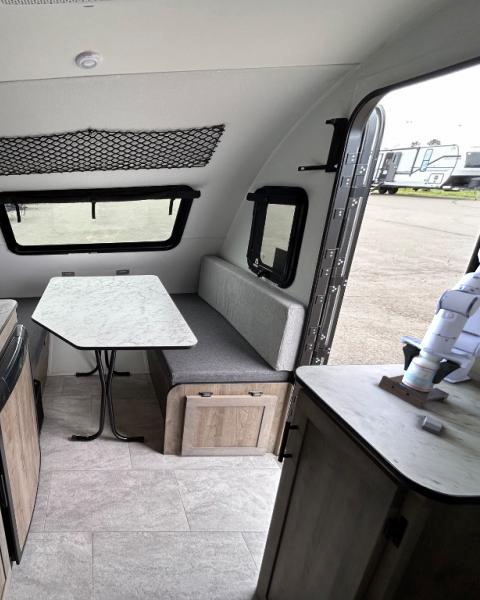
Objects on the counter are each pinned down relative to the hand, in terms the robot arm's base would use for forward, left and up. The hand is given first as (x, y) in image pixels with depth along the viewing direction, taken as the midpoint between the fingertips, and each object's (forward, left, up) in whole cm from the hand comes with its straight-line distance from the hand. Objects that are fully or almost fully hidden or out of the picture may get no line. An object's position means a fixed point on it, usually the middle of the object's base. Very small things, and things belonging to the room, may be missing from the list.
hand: (420, 376), depth 92 cm
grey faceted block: (+12, +10, -6) cm, 17 cm away
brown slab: (0, 0, -6) cm, 6 cm away
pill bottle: (0, 0, -4) cm, 4 cm away
